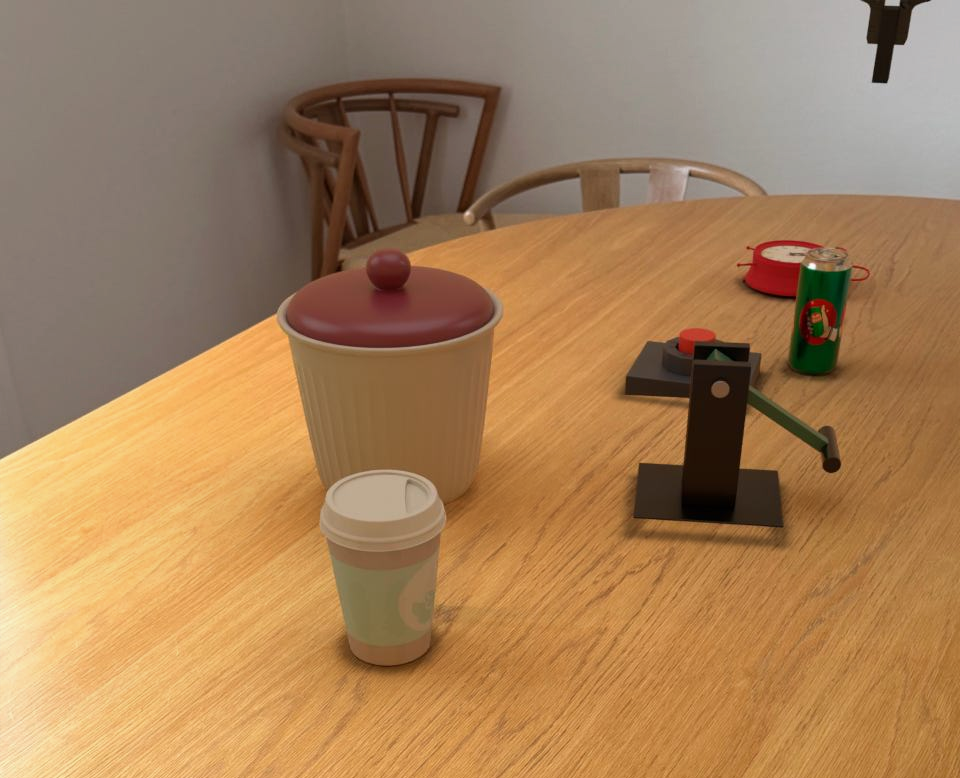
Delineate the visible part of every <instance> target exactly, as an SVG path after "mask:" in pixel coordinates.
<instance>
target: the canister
mask: <svg viewBox="0 0 960 778" xmlns="http://www.w3.org/2000/svg"><path fill="white" fill-rule="evenodd" d="M503 317H504V304H503V302H502V300H501V299H500V297H499V296H498V295H497V294H495V292H493V291H492V290H491V289H488V288H487V287H485V286H483V285H481V284H479V283H478V282H477V281H476V280H473V279H472V278H470V277H468V276H465V275H463V274H459V273H456V272H453V271H451V270H445V269H441V268H436V267H429V266H421V265H412V264H411V261H410V258H409V257H408V255H407V254H406V253H404V252H403V251H402V250H399V249H397V248H391V247H385V248H380V249H377V250H375V251H373V253H371V254H370V255H369V256H368V258H367V260H366V262H365V266H363V267H357V268H350V269H347V270H346V269H345V270H342V271H337V272H334V273H330V274H328V275H326V276H325V275H324V276H322V277H320V278H316V279H314V280H313V281H311V282H309V283H307V284H306V285H304V286H302V287H301V288H300V289H299V290H297V291H296V292H295V293H293V294H291V295H289V297H287V298H286V299H285V300H283V301H282V302H281V304H280V305H279V307H278V309H277V311H276V321H277V324H278V326H279V328H280V329H281V331H282V332H283V333H284V334H285V335H286V336H287V338H288V343H289V348H290V353H291V359H292V363H293V369H294V372H295V377H296V382H297V384H298V385H297V386H298V391H299V396H300V400H301V405H302V410H303V414H304V415H303V416H304V419H305V424H306V428H307V432H308V436H309V441H310V444H311V445H310V446H311V449H312V454H313V457H314V461H315V465H316V469H317V473H318V476H319V479H320V482H321V483H322V485H323V487H324V489H326V493H327V492H328V490H329V489H330V487H331V486H332V485H334V484H335V483H336V482H338V481H339V480H341V479H343V478H345V477H348V476H350V475H353V474H357V473H361V472H366V471H372V470H399V471H406V472H410V473H414V474H417V475H420V476H422V477H424V478H426V479H427V480H429V481H430V482H431V483H432V484H433V485H434V486H435V488H436V490H437V493H438V496H439V498H440V500H441V501H442V503H443V505H444V506H445V505H446V504H450V503H451V502H453V501H455V500H457V499H459V498H460V497H461V496H462V495H465V494H466V492H467V491H468V490H470V488H471V486H472V485H473V483H474V481H475V479H476V476H477V472H478V468H479V464H480V459H481V451H482V444H483V437H484V430H485V422H486V414H487V405H488V397H489V396H488V395H489V388H490V387H489V386H490V375H491V367H492V360H493V351H494V350H493V349H494V338H495V329H496V327H498V325H499V324H500V322H501V320H502V319H503Z"/></svg>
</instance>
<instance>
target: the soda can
mask: <svg viewBox="0 0 960 778" xmlns="http://www.w3.org/2000/svg"><path fill="white" fill-rule="evenodd" d="M835 248H836V247H825V248H814V249H810V250H808V251H807V252H806V257H805V258H804V259H803V260H802V262H801V266H800V273H799V280H798V288H797V295H796V296H795V303H794V311H793V318H792V325H791V334H790V341H789V348H788V355H787V363H788V365H789V367H790V368H791V370H793V371H794V372H796V373H799V374H801V375H807V376H823V375H827V374H830V373H831V372H833V371H834V370H835V369H836V368H837V366H838V362H839V356H840V355H839V354H840V351H841V350H840V349H841V344H842V343H841V342H842V338H843V337H842V336H843V330H844V324H845V318H846V311H847V305H848V298H849V291H850V288H851V287H850V286H851V281H850V280H851V279H852V274H853V269H854V268H853V266H852V265H853V263H852V261H851V254H850V253H849V252H848V251H847V250H846V251H847V252H846V251H843V250H840V249H835ZM851 263H852V264H851Z"/></svg>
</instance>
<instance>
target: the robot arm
mask: <svg viewBox="0 0 960 778" xmlns="http://www.w3.org/2000/svg"><path fill="white" fill-rule="evenodd" d="M860 1H861V2H863V3H865V4H867V5H868V6H869V10H870V11H869V17H868V25H867V30H866V43H867V45H876V50H875V58H874V65H873V72H872V77H871V84H888V82H889V79H890V74H891V68H892V61H893V55H894V48H895V46H905V45H906V42H907V40H908V38H909V34H910V33H909V32H910V26H911V20H912V15H913V10H914V8H915V7H916V6H918V5H921V4H924V3H929V2H931V1H932V0H899V3H898V4H899V5H886V2H887V1H886V0H860Z"/></svg>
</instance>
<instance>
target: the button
mask: <svg viewBox="0 0 960 778" xmlns="http://www.w3.org/2000/svg"><path fill="white" fill-rule="evenodd" d="M678 337H679V347H678V350H679V351H680V352H682V353H685V354H690V355H693V351H694V341H710V342H715V340H716V339H717V335H716V333H715V331H712V330H710V329H706V328H700V327H691V328H685V329H683V330H680V332H679V335H678Z"/></svg>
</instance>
